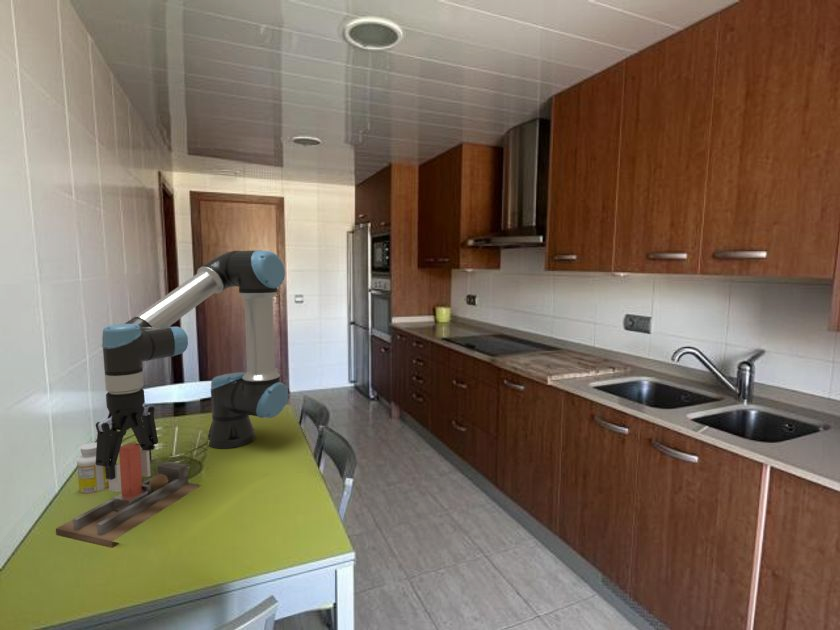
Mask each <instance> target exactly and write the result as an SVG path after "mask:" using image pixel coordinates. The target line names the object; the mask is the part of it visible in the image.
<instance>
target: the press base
mask: <svg viewBox="0 0 840 630" xmlns="http://www.w3.org/2000/svg"><path fill="white" fill-rule="evenodd" d="M156 471H157V473H156V475H158V474H163V475H165V476H167V478H168V480H169V483H168V484H167V485H165V486H163V487H161V488H160V489H158V490H156V491H154V492H153V491H152V490H151V494H149V495H147V496H145V497H144V498H142V499H140V500H138V501H137V502H135V503H133V504H131V505H129V506H128V507H126V508H124V509H122V510H121V511H117V510H113V497H112V498H110V499H108V500H106V501H104V502H102V503H101V504H99V505H97V506H95V507H93V508H92V509H89V510H87V511H85V512H84V513H82V514H80V515H78V516H77V517H74V518H72V519H71V520H69V521H68V522H65V523H64V524H61V525H60V526H58V527H56V528H55V536H60V537H63V538H67V539H72V540H77V541H79V542H80V541H81V542H86V543H89V544H94V545H98V546H103V547H106V548H107V547H108V548H111V549H112V548H114V547H116V546H118V545H119V544H120V542H116V541H115V540H117V539H118V538H120V537H122V536H124V534H126V533H128V532H129V531H131V530H132V529H134V528H136V527H137V526H139V525H140V524H143V523H144V522H146V520H149V519H150V518H152V517H153V516H155V515H157V514H158V513H160V512H162V511H163V510H165V509H166V508H168V507H169V506H171V505H172V504H174V503H176V502H177V501H179V500H181V499H182V498H184V497H186V496H187V495H190V493H192V492H194V491H195V490H196V489H198V488H200V487H202V484H198V483H192V482H189V475H188V474H189V473H188V472H189V470H188V464H186V463H185V464H183V463H178V462H171V461H165V462H163V463H161V464H159V465H157V466H156ZM151 478H152V477H150V478H147V479H146V480H144V481H142V484H147V485H149V482H150V480H151Z"/></svg>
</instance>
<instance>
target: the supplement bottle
mask: <svg viewBox="0 0 840 630" xmlns="http://www.w3.org/2000/svg"><path fill="white" fill-rule="evenodd" d="M96 449H97V441H96V442H89V443H86V444H83V445H81V447H80V453H81V456H79V457H78V458H77V460H76V467H77V468H76V469H77V479H78V480H77V481H78V491H79V493H80V494H81V493H82V494H92V493H97V492H101V491H103V490H105V489H107V488H109V479H107V478H106V472H105V467H104V466H98V465H96Z"/></svg>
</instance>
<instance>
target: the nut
mask: <svg viewBox="0 0 840 630" xmlns="http://www.w3.org/2000/svg"><path fill="white" fill-rule="evenodd" d="M150 478H151V480H150V482H149V485H151V490H152V491H153V492H154V491H156V490H158V489H160V488H161V487H163V486H165V485H167V484H168V483H169V480H168V478H167V476H165V475H163V474H156V475H154V476H152V477H150Z"/></svg>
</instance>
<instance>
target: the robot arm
mask: <svg viewBox="0 0 840 630" xmlns="http://www.w3.org/2000/svg"><path fill="white" fill-rule="evenodd" d="M285 271H286V270H285V267H284V263H283V261H282V259H281V258H279V256H278V255H277V254H276V253H275V252H273V251H270V250H262V249H259V250H231V251H227V252H225V253H221V254H220V255H218V256H217V257H214V258H213V259H211V260H210V261H208V262H206V263H204V265H202V266H201V267H199V268H198V269H197V271H196V274H194V276H192V277H191V278H189V279H188V280H186V281H185V282H183V283H182V284H180V285H179V286H177V287H176V288H174V289H173V290H171V291H170V292H168V293H167V294H166V295H164V296H163V297H161V298H160V299H159V300H157V301H156V302H154V303H153V304H151V305H150V306H149V307H147V308H145V309H144V310H142V311H141V312H140V313H137V315H136V316H134V317H132V318H130V319H129V320H127V321H126V322H125V323H117V324H110V325H107V326H105V327H104V328H103V329H102V335H101V336H102V338H101V339H102V341H101V342H102V344H101V348H102V353H103V355H102V356H103V367H104V368H103V369H104V384H105V391H107V393H106V394H105V401H106V408H107V410H108V416H107V418H106V419H105V420H103V421H101V422H100V421H97V422H96V423H95V428H96V433H97V434H96V435H97V437H96V442H97V449H96V465H98V466H104V467H105V472H106V478H107V479H109V486H108V490H109V491H110V492H115V493H120V492H122V491H121V475H120V463H117V461H118V457H119V451H120V447H121V446H122V442H123V440H124V436H125V435H127V434H126V433H127V431H128V430H129V429H131V430H132V432H133V434H134V436H135V439H136V440H137V444H140V456H141V473H142V477H145V478H147V477H148V478H149V477H151V461H152V451H153V450H155V448H156V447H155V446H156V445H157V444H159V439H158V433H157V427H156V426H157V425H156V422H155V407H154V406H149V405H148V406H147V405H144V404H145V390H144V388H143V387H144V385H145V384H144V383H145V381H144V371H143V369H144V366H143V365H144V363H143V362H148V361H154V360H159V359H164V358H172V357H175V356H178V355H181V354H184V352H186V351H187V349H188V346H189V339H188V338H189V337H188V335H187V333H186V331H185V330H184V328H182V327H180V326H173V324H175V323H176V322H178V321H179V320H180V319H181V318H182V317H184V316H185V315H187V314H188V313H189V312H191V311H192V310H194V309H195V308H196V307H197V306H199V305H200V304H201V303H203V302H204V301H205V300H207V299H208V298H209V297H210V296H212V295H213V294H220V293H221V292H223V291H224V290H226V289H228V288H232V287H233V288H234V287H238V294H239V295H241V296H242V298H243V299H244V319H245V320H244V321H245V322H244V324H245V347H246V348H245V351H246V372H244V371H242V372H241V371H239V372H238V371H237V372H231V373H224V374H221V375H217V376H214V377H213V378H212V379H211V382H210V398H211V399H210V400H211V419H212V420H211V425H210V427H209V431H208V433H207V438H206V440H210V442H209V445H208V446H209V447H211V448H214V449H232V448H238V447H242V446H246V445H247V444H250V443H252V442H253V441H254V440H255V438H256V431H255V428H254V427H253V423H252V421H251V418H250V416H253V417H257V418H261V419H262V418H269V419H270V418H274V417H275V418H276V417H277V416H278V415H279V414H280V413H281V412H282V411H283V410H284V408H285V406H286V404H287V402H288V399H289V390H288V387H287V385H286V384H284V383H283V382H281V375H280V373H279V372H278V371H277V370H276V366H275V365H276V364H275V361H276V360H275V334H274V333H275V331H274V303H273V302H274V299H273V298H274V297H275V296H276V295H277V294H278V288H279V287H280V286H281V285H282V284H283V283H284V282H283V281H284V280H285V276H286V274H285V273H286V272H285ZM143 405H144V406H143Z"/></svg>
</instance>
